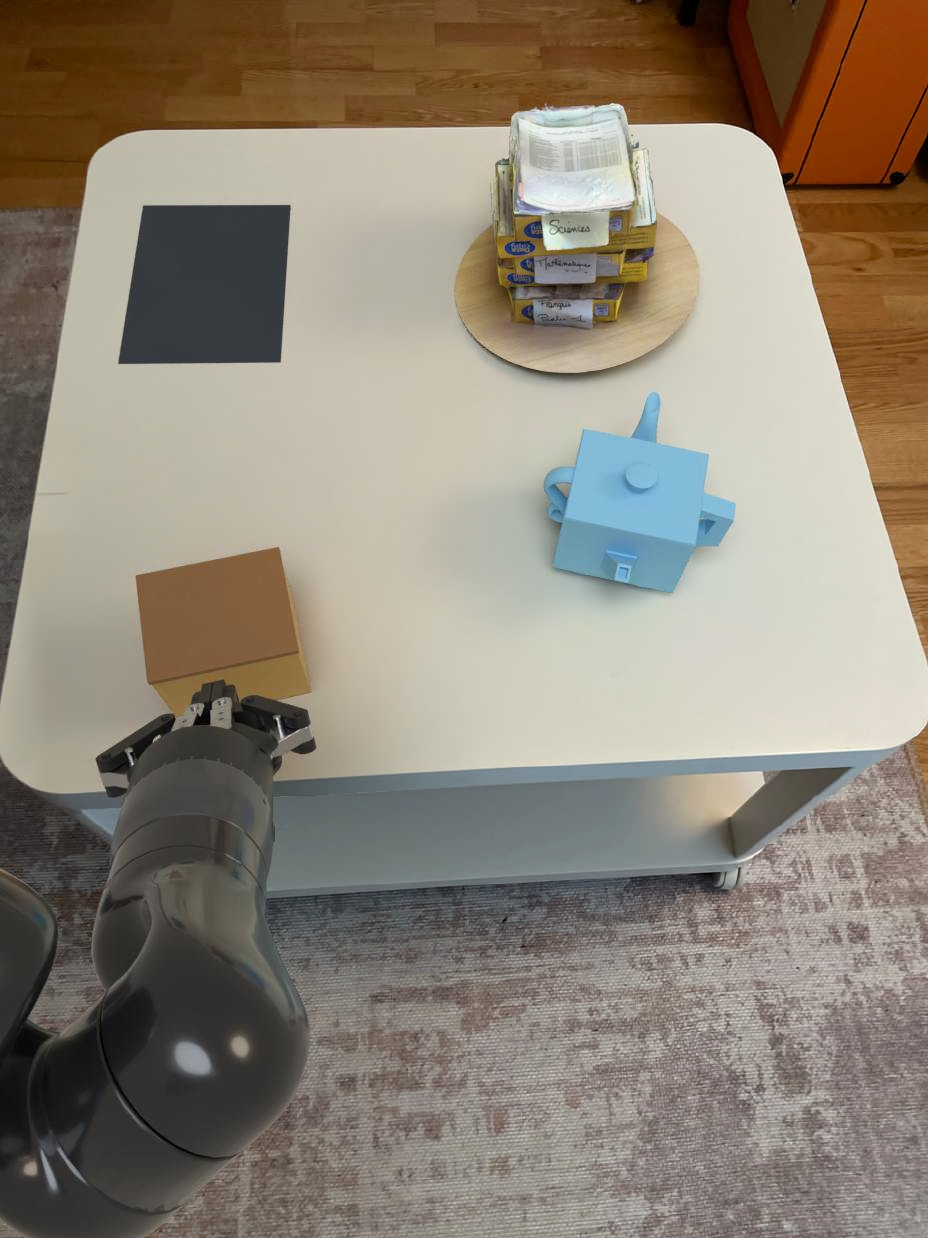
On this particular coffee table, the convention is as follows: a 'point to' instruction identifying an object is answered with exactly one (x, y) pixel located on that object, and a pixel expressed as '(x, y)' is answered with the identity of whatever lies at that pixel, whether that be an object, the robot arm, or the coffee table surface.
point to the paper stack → (575, 248)
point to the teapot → (634, 507)
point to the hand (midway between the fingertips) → (217, 694)
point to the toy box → (222, 629)
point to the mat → (207, 285)
